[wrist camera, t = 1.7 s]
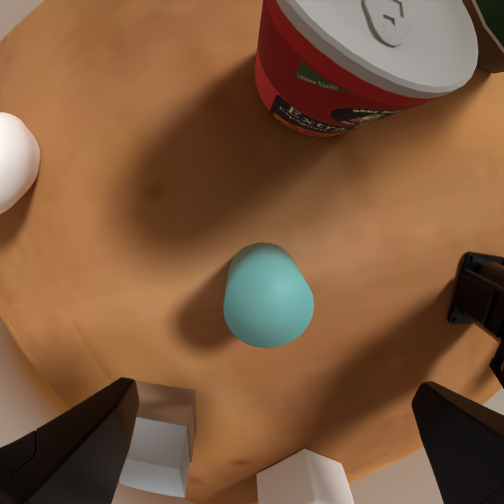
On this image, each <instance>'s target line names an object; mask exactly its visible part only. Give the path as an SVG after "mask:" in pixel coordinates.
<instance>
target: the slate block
mask: <svg viewBox="0 0 504 504" xmlns="http://www.w3.org/2000/svg"><path fill="white" fill-rule="evenodd" d="M189 464H190V455H189V444H188V432H187V426H185V425H178V424H171V423H165V422H159V421H154V420H149V419H144V418H139V417H136V422H135V426H134V431H133V435H132V440H131V445H130V448H129V452H128V455H127V458H126V460H125V463H124V466H123V469H122V472H121V475H120V478H119V481H120V483H121V484H122V485H125V486H129V487H132V488H137V489H140V490H145V491H149V492H154V493H159V494H164V495H169V496H175V497H182V498H185V492H186V485H187V478H188V471H189Z"/></svg>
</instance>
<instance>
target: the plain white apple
mask: <svg viewBox="0 0 504 504" xmlns="http://www.w3.org/2000/svg"><path fill="white" fill-rule="evenodd" d="M39 165H40V150H39V146H38V144H37V142H36V139H35V138H34V136H33V135H32V134H31V133H30V131H29V130H28V129H27V127H26V126H25V125H24V124H23V122H22V121H21V120H20V119H19V118H17V117H15V116H13V115H11V114H9V113H1V112H0V214H1V213H3V212H5V211H7V210H8V209H9V208H11V207H12V206H13V205H14V204H15V203H16V202H17V201H18V200H19V199H20V198H21V197H22V196H23V195H24V194H25V193H26V192H27V191H28V189H29V188H30V187H31V186H32V184H33V183H34V181H35V179H36V177H37V175H38V171H39Z"/></svg>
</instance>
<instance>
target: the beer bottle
mask: <svg viewBox="0 0 504 504" xmlns="http://www.w3.org/2000/svg"><path fill="white" fill-rule="evenodd" d="M462 3H463V4H464V6H465V8H466V10H467V12H468V14H469V16H470V18H471V20H472V23H473V26H474V30H475V33H476V37H477V44H478V59H477V66H478V67H480V68H482V69H485V70H487V71H489V72H491V73H499V72H504V0H462Z"/></svg>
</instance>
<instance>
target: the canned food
mask: <svg viewBox="0 0 504 504" xmlns="http://www.w3.org/2000/svg"><path fill="white" fill-rule="evenodd" d="M477 59H478V44H477V37H476V33H475V30H474V26H473V23H472V20H471V18H470V16H469V14H468V12H467V10H466V8H465V6H464V4H463V3H462V1H461V0H263V6H262V14H261V22H260V30H259V38H258V46H257V54H256V63H255V82H256V88H257V90H258V93H259V95H260V98H261V100H262V101H263V103H264V104H265V106H266V108H267V109H268V110H269V111H270V112H271V113H272V114H273V116H274V117H275V118H276V119H278V120H279V121H280V122H282V123H283V124H284V125H286V126H287V127H289V128H291V129H293V130H295V131H297V132H300V133H303V134H306V135H309V136H317V137H329V136H336V135H339V134H343V133H346V132H348V131H351V130H353V129H356V128H358V127H361V126H363V125H366V124H368V123H371V122H373V121H376V120H379V119H381V118H384V117H387V116H389V115H392V114H395V113H398V112H400V111H403V110H406V109H409V108H412V107H415V106H418V105H421V104H424V103H426V102H428V101H430V100H433V99H436V98H439V97H443V96H444V95H446V94H448V93H450V92H453V91H455V90H456V89H458V88H460V87H462V86H464V85H465V84H466V83H467V81H468V80H469V79H470V78H471V77H472V75H473V73H474V71H475V68H476V66H477Z"/></svg>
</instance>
